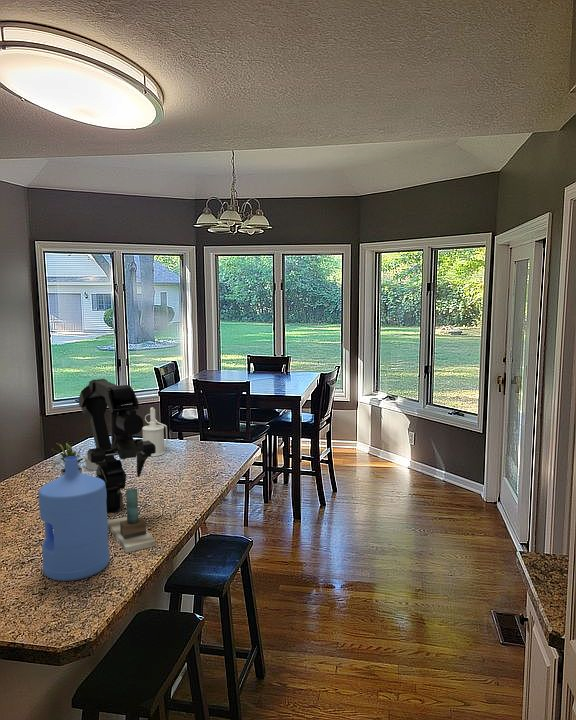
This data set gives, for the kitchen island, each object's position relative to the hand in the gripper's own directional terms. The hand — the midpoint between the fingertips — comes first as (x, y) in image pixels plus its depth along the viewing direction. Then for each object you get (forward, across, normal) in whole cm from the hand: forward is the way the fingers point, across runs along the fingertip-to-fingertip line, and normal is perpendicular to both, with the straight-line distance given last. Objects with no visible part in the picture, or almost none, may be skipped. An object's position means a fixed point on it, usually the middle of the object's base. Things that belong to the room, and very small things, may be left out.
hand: (123, 479), depth 165 cm
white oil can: (+13, +30, +65) cm, 73 cm away
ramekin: (+13, +6, +58) cm, 60 cm away
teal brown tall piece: (+11, -1, -14) cm, 18 cm away
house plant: (+13, -9, +42) cm, 44 cm away
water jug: (+13, -18, -22) cm, 31 cm away
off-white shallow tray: (+13, -1, -10) cm, 17 cm away
